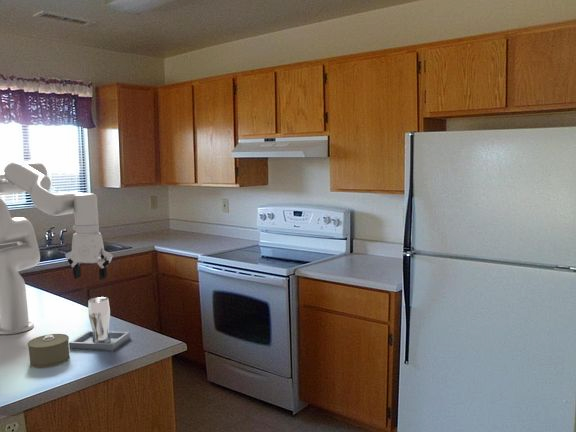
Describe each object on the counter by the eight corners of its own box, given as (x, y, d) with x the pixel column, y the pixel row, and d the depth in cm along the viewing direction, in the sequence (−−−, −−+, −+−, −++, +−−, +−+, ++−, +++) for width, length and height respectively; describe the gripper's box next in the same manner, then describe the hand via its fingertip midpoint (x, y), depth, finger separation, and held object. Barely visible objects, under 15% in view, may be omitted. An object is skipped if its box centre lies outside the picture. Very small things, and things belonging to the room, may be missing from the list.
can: (28, 371, 159) (26, 349, 158) (30, 357, 169) (28, 337, 169) (70, 364, 163) (68, 343, 162) (70, 351, 174) (68, 331, 173)
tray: (69, 349, 175) (68, 342, 175) (89, 337, 187) (88, 330, 187) (113, 351, 172) (112, 344, 172) (130, 338, 184) (129, 332, 184)
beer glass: (105, 345, 175) (101, 302, 174) (86, 344, 177) (83, 302, 175) (116, 338, 182) (113, 297, 180) (98, 337, 184) (95, 296, 182)
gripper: (57, 230, 175) (61, 280, 177) (104, 231, 172) (107, 282, 174) (71, 227, 182) (74, 274, 184) (116, 228, 179) (118, 276, 181)
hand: (90, 278), depth 179 cm, fingers open, 9 cm apart
